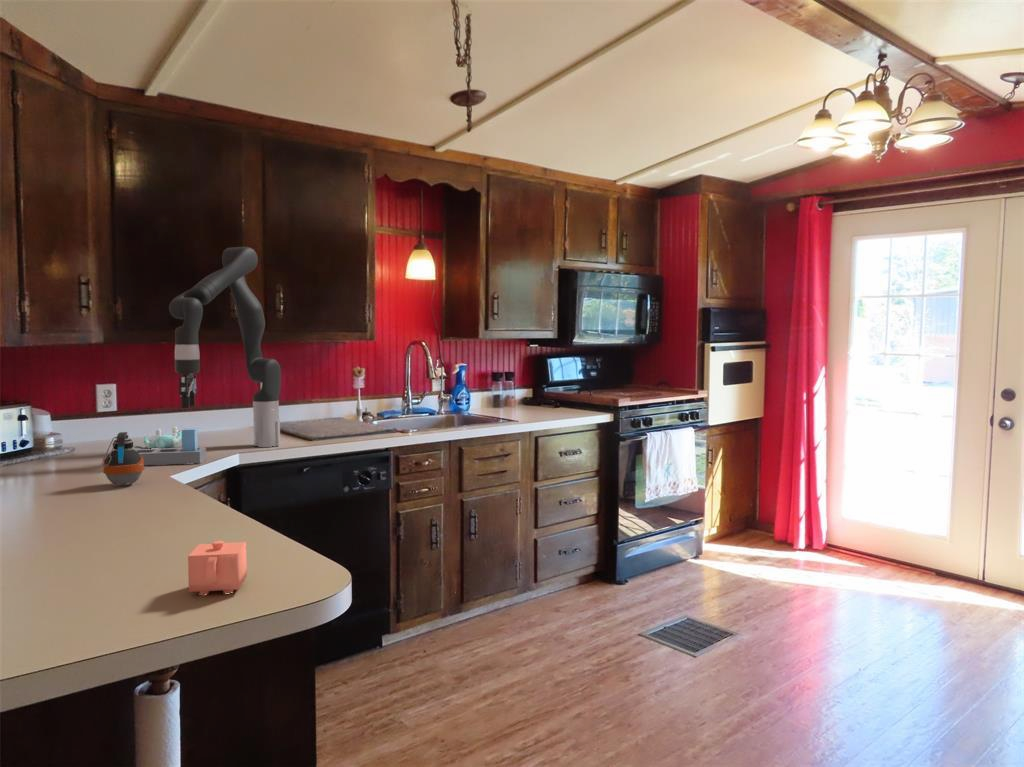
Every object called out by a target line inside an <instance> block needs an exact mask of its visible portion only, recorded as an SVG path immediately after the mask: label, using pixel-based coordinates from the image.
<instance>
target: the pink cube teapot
mask: <svg viewBox="0 0 1024 767" xmlns="http://www.w3.org/2000/svg"><path fill="white" fill-rule="evenodd" d="M247 562H248V561H247V542H246V541H240V542H224V540H216V541H213V542H211V543H199V544H197V546H196V547H195V548H194V549H193V550H192V551H191V552H190V554H189V555H188V556H187V566H188V567H187V568H188V569H187V571H188V575H187V576H188V577H187V578H188V592H189V593H197V592H198V594H199V595H205V594H208V593H209V594H210V592H216V591H217V592H218V591H222V592H223V594H224V593H231V592H233V591H235V590H237V591H238V590H240V589H241V587H242V585H243V583H244V581H245V580H246V579H247V574H248V569H247V564H248V563H247ZM209 594H208V595H209Z"/></svg>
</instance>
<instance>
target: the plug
mask: <svg viewBox="0 0 1024 767" xmlns="http://www.w3.org/2000/svg"><path fill="white" fill-rule="evenodd" d="M181 432H182V438H181V448H182V451H197V450H198V447H199V446H198V445H199V444H198V442H199V441H198V428H197V427H194V428H193V427H192V428H187V427H186V428H182V429H181Z"/></svg>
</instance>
